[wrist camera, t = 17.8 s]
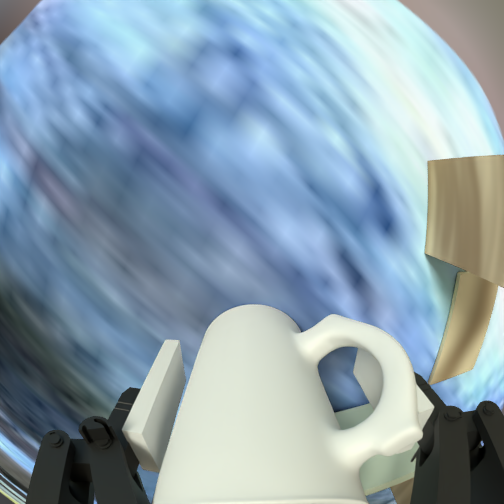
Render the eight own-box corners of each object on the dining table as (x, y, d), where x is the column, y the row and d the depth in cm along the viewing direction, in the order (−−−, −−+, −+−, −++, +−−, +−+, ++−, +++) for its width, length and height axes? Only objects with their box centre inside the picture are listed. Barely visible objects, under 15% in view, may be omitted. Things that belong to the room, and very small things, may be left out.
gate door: (412, 388, 17) (458, 451, 9) (409, 398, 18) (452, 460, 10) (268, 424, 17) (277, 512, 10) (270, 433, 18) (279, 518, 10)
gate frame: (371, 445, 19) (404, 521, 9) (427, 160, 14) (556, 153, 4) (445, 420, 19) (485, 476, 10) (504, 179, 14) (595, 189, 4)
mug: (245, 402, 17) (244, 557, 5) (176, 340, 16) (106, 509, 4) (367, 321, 16) (477, 459, 4) (310, 239, 15) (460, 367, 3)
